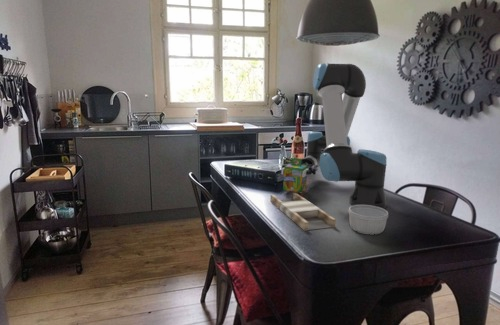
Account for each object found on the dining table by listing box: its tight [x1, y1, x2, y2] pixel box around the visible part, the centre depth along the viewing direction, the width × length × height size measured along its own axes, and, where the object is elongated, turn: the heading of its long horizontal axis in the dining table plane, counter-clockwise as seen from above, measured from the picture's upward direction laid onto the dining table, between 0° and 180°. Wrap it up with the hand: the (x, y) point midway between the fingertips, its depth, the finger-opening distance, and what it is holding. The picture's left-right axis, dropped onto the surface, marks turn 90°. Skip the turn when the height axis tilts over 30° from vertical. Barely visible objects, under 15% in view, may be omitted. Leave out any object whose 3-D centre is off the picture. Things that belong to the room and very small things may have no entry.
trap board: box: [270, 192, 337, 232], centre depth 137 cm, size 33×12×3 cm, turn 18°
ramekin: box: [348, 205, 389, 236], centre depth 122 cm, size 13×13×7 cm
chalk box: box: [282, 157, 308, 194], centre depth 162 cm, size 9×9×15 cm
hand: (292, 172), depth 157 cm, fingers closed on chalk box, 9 cm apart
